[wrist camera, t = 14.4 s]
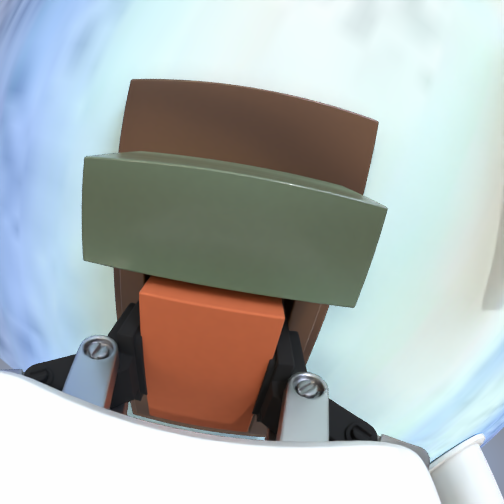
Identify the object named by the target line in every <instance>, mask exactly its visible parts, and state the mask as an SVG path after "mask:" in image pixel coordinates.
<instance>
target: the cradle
mask: <svg viewBox="0 0 504 504" xmlns="http://www.w3.org/2000/svg"><path fill="white" fill-rule="evenodd" d="M378 123H379V122H378V121H377V120H374V119H371V118H368V117H365V116H363V115H360V114H357V113H354V112H351V111H348V110H344V109H341V108H338V107H335V106H331V105H328V104H324V103H321V102H317V101H313V100H309V99H305V98H301V97H297V96H292V95H288V94H283V93H279V92H274V91H268V90H263V89H257V88H251V87H245V86H238V85H231V84H223V83H214V82H203V81H191V80H172V79H132V80H131V82H130V87H129V91H128V96H127V101H126V106H125V112H124V118H123V124H122V130H121V137H120V144H119V152H118V153H112V154H102V155H93V156H86V157H85V158H84V168H83V184H82V245H83V260H84V261H88V262H92V263H97V264H101V265H105V266H110V267H114V286H115V301H116V313H117V321H118V319H119V318H120V316H121V315H122V313H123V312H124V311H125V309H126V308H127V306H128V305H129V304H130V303H137V301H138V300H139V292H140V290H141V289H142V288H143V286H144V285H145V283H146V282H147V280H148V279H149V278H150V276H151V275H152V276H157V277H162V278H167V279H172V280H177V281H183V282H188V283H193V284H199V285H204V286H210V287H215V288H221V289H227V290H233V291H239V292H245V293H251V294H257V295H264V296H270V297H277V298H282V300H283V301H284V306H285V311H286V317H287V322H288V328H289V330H290V331H297V332H298V334H299V338H300V342H301V347H302V351H303V356H304V361H305V365H306V363H307V361H308V359H309V356H310V354H311V351H312V349H313V346H314V344H315V342H316V339H317V337H318V334H319V331H320V329H321V326H322V324H323V321H324V318H325V316H326V313H327V310H328V308H329V305H335V306H343V307H351V308H354V307H355V305H356V302H357V300H358V297H359V295H360V292H361V289H362V287H363V284H364V281H365V279H366V276H367V273H368V270H369V267H370V264H371V262H372V259H373V256H374V253H375V250H376V246H377V243H378V240H379V237H380V234H381V230H382V227H383V224H384V220H385V217H386V213H387V207H386V206H384V205H382V204H380V203H378V202H376V201H374V200H371V199H369V198H367V197H365V196H363V193H364V189H365V185H366V181H367V177H368V172H369V168H370V164H371V159H372V154H373V149H374V144H375V139H376V134H377V129H378ZM130 403H131V407H132V411H133V414H135V415H139V416H142V417H146V418H149V419H153V420H157V421H161V422H166V423H170V424H174V425H179V426H184V427H189V428H194V429H200V430H206V431H212V432H219V433H227V434H235V435H245V436H256V437H265V436H266V431H267V427H266V426H265V425H264V424H262V423H261V422H257V417H256V414H254V415H253V417H252V420H251V423H250V426H249V428H248V431H247V432H240V431H231V430H223V429H216V428H209V427H203V426H197V425H192V424H186V423H181V422H177V421H172V420H168V419H163V418H159V417H155V416H151V415H150V414H149V407H148V401H147V395H144V394H143V397H142V399H141V401H138V400H132V401H130Z"/></svg>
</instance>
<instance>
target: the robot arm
mask: <svg viewBox="0 0 504 504" xmlns="http://www.w3.org/2000/svg"><path fill="white" fill-rule="evenodd" d="M282 304H283V309H284V315H285V321H284V324H283V327H282V331H281V334H280V337H279V340H278V344H277V347H276V350H275V353H274V356H273V359H270V360H269V363H268V366H267V369H266V372H265V376H264V379H263V382H262V385H261V388H260V391H259V394H258V397H257V400H256V402H255V405H254V408H253V411H252V414H256V417H257V422H261V423H262V424H264V425H265V426H266V427H267V431H266V436H265V440H253V439H242V438H233V437H225V436H218V435H211V434H204V433H199V432H193V431H188V430H183V429H178V428H173V427H169V426H164V425H160V424H156V423H152V422H148V421H144V420H141V419H137V418H134V417H130V416H127V410H128V402H129V401H132V400H138V401H141V399H142V397H143V394H144V395H148V393H147V385H146V376H145V367H144V355H143V342H142V336H141V331H140V310H139V300H138V301H137V303H130V304H129V305H128V306H127V308H126V309H125V311H124V312H123V313H122V315H121V316H120V318H119V319H118V321H117V322H116V324H115V325H114V327H113V328H112V330H111V331H110V333H109V334H108V336H104V335H95V336H91V337H88V338H86V339H85V340H84V341H83V342H82V343H81V345H80V347H79V349H78V351H77V354H75V355H71V356H67V357H63V358H59V359H55V360H51V361H47V362H43V363H38V364H35V365H32V366H31V367H29V368H28V369H27V370H26V372H23V370H22V369H11V370H0V504H504V500H503V498H502V495H501V492H500V490H499V488H498V485H497V483H496V481H495V478H494V476H493V474H492V472H491V469H490V467H489V465H488V463H487V461H486V459H485V457H484V455H483V453H482V451H481V449H480V445H481V444H482V443H483V442H484V440H485V436H484V434H482V433H481V434H477V435H475V436H473V437H471V438H469V439H467V440H466V441H464V442H462V443H461V444H459V445H457V446H456V447H454V448H453V449H451V450H450V451H448V452H447V453H445V454H444V455H442V456H441V457H439V458H438V459H437V460H435V461H434V462H432V463H431V464H430V457H429V455H428V453H427V452H426V451H425V450H424V449H423V448H421V447H418V446H415V445H412V444H409V443H406V442H403V441H400V440H398V439H395V438H392V437H389V436H387V435H384V434H382V435H381V436H378V435H377V433H376V431H375V429H374V428H373V427H372V426H371V425H369V424H368V423H366V422H365V421H363V420H362V419H360V418H358V417H357V416H355V415H354V414H352V413H351V412H349V411H347V410H346V409H344V408H343V407H341V406H340V405H338V404H337V403H335V402H334V401H332V400H331V399H329V398H328V386H327V384H326V382H325V381H324V380H323V379H322V378H321V377H319V376H318V375H316V374H313V373H310V372H307V370H306V365H305V361H304V356H303V351H302V347H301V342H300V338H299V334H298V332H297V331H290V330H289V328H288V322H287V317H286V311H285V306H284V301H283V300H282ZM429 464H430V465H429Z"/></svg>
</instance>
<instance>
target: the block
mask: <svg viewBox="0 0 504 504" xmlns="http://www.w3.org/2000/svg"><path fill="white" fill-rule="evenodd" d="M139 310H140V331H141V336H142V342H143V355H144V367H145V376H146V385H147V393H148V395H147V401H148V407H149V414H150V415H151V416H155V417H159V418H163V419H168V420H172V421H177V422H181V423H186V424H192V425H197V426H203V427H209V428H216V429H223V430H231V431H240V432H247V431H248V428H249V426H250V423H251V420H252V417H253V415H254V414H252V411H253V408H254V405H255V402H256V400H257V397H258V394H259V391H260V388H261V385H262V382H263V379H264V376H265V372H266V369H267V366H268V363H269V360H270V359H273V356H274V353H275V350H276V347H277V344H278V340H279V337H280V334H281V331H282V327H283V324H284V321H285V315H284V309H283V304H282V298H277V297H270V296H264V295H257V294H251V293H245V292H239V291H233V290H227V289H221V288H215V287H210V286H204V285H199V284H193V283H188V282H183V281H177V280H172V279H167V278H162V277H157V276H152V275H151V276H150V278H149V279H148V280H147V282H146V283H145V285H144V286H143V288H142V289H141V290H140V292H139Z"/></svg>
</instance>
